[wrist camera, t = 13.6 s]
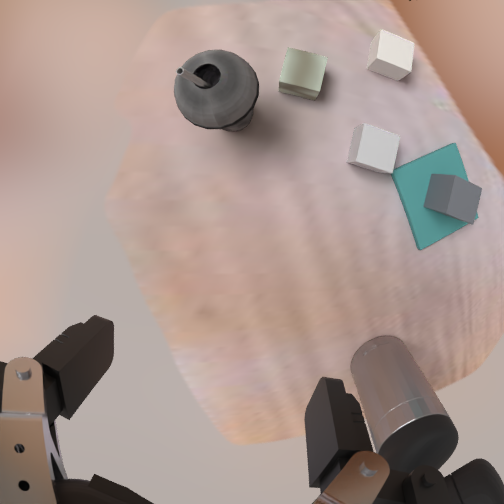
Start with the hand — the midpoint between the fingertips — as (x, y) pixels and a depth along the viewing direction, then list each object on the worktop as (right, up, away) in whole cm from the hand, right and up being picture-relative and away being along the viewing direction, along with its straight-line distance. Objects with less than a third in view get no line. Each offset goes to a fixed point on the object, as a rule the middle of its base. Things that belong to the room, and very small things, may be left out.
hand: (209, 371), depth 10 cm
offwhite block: (+19, +29, +20) cm, 40 cm away
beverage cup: (-1, +21, +24) cm, 32 cm away
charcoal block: (+26, +12, +23) cm, 37 cm away
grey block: (+16, +17, +24) cm, 33 cm away
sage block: (+7, +25, +22) cm, 34 cm away
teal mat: (+26, +12, +24) cm, 37 cm away
